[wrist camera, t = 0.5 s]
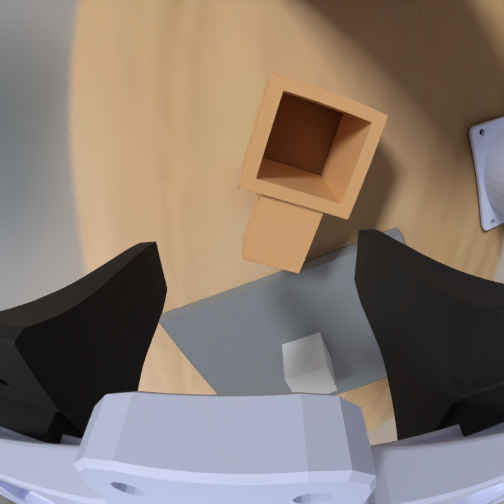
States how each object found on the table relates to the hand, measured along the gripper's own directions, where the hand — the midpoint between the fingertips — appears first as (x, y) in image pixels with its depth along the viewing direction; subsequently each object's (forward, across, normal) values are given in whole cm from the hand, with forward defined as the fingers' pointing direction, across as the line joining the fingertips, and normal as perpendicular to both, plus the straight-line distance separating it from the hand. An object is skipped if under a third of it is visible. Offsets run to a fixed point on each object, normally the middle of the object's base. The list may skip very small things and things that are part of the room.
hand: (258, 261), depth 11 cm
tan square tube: (+9, -2, -1) cm, 9 cm away
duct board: (+9, -3, +13) cm, 16 cm away
